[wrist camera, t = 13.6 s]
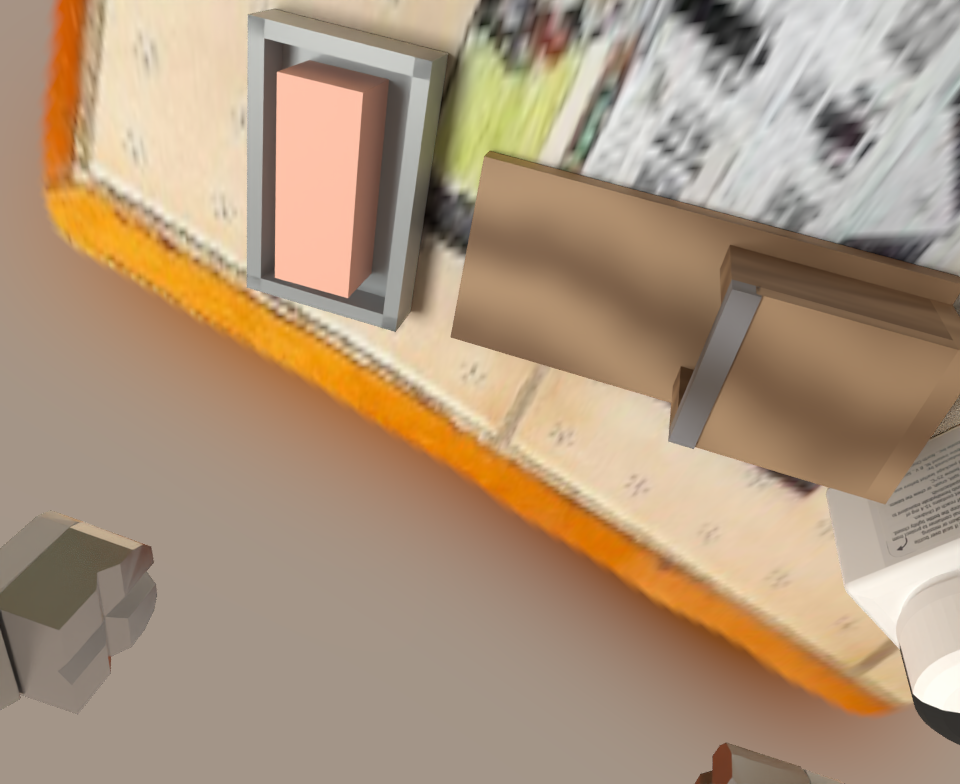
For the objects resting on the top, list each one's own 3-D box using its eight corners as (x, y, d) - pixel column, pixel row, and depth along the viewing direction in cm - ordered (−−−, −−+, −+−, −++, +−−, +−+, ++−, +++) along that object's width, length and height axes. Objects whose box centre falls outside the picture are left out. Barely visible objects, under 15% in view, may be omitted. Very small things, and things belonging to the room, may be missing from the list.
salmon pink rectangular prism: (302, 254, 41) (274, 277, 38) (309, 60, 35) (276, 71, 32) (371, 273, 40) (348, 298, 38) (389, 79, 35) (362, 92, 32)
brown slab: (489, 151, 36) (454, 188, 31) (958, 276, 33) (1001, 338, 29) (455, 328, 41) (421, 384, 37) (854, 446, 39) (875, 522, 34)
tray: (273, 9, 35) (248, 14, 33) (448, 53, 34) (432, 61, 32) (268, 270, 43) (246, 287, 41) (410, 312, 42) (395, 331, 40)
